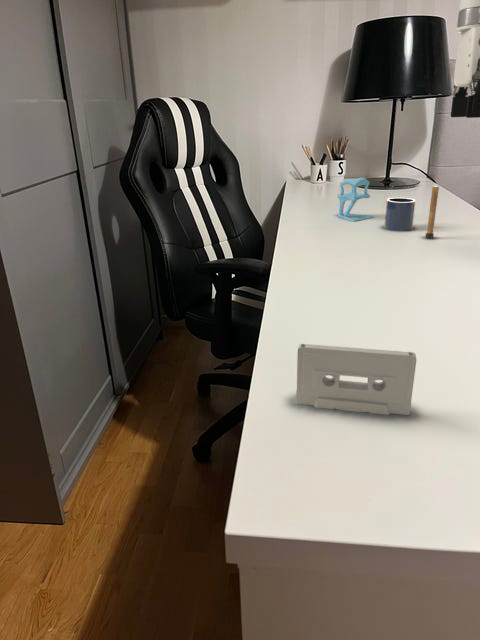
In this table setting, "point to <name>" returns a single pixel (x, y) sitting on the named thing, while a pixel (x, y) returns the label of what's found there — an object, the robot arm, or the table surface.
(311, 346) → the cassette
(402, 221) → the pencil cup
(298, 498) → the table surface
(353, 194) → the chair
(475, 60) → the robot arm
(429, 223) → the brush
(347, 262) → the table surface
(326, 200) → the table surface
